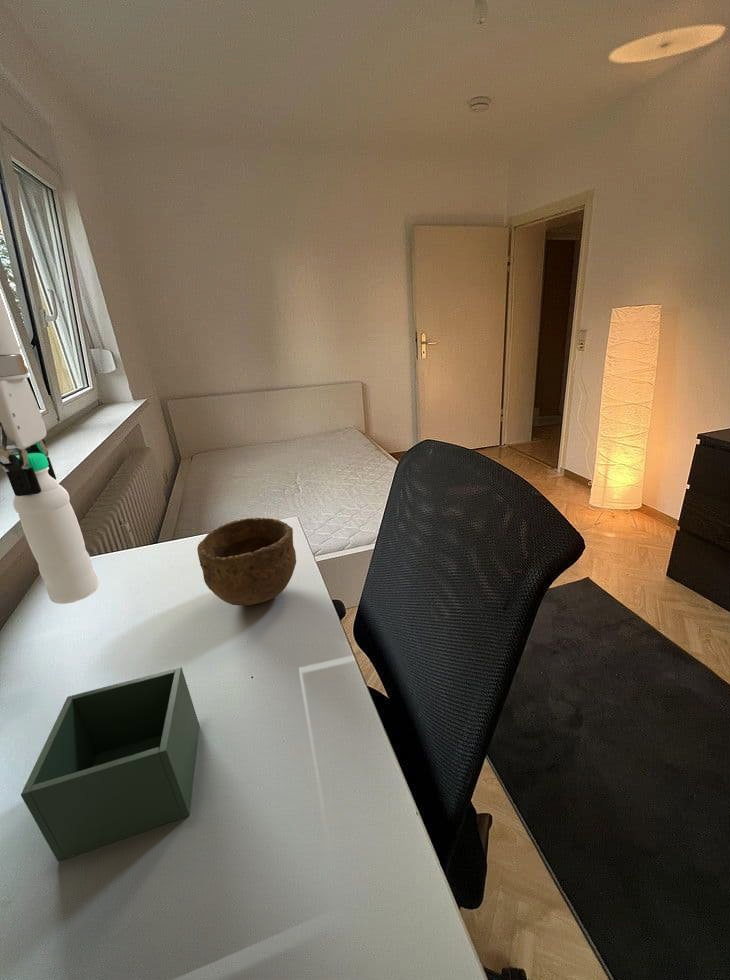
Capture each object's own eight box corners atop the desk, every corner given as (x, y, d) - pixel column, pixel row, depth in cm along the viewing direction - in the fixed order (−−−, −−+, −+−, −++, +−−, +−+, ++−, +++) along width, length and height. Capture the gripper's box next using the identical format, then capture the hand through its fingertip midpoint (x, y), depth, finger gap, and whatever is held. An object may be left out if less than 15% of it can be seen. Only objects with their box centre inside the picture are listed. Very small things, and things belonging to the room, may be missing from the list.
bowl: (304, 612, 89) (293, 547, 83) (205, 633, 85) (186, 565, 79) (300, 566, 106) (291, 510, 100) (217, 581, 102) (203, 523, 96)
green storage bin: (57, 862, 49) (20, 795, 45) (94, 756, 61) (67, 696, 57) (189, 815, 53) (166, 750, 49) (199, 725, 65) (181, 666, 61)
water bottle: (59, 588, 79) (7, 453, 70) (104, 579, 81) (60, 447, 72) (44, 610, 73) (-14, 465, 64) (94, 599, 75) (44, 458, 66)
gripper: (-8, 367, 70) (31, 475, 76) (-78, 377, 55) (-21, 511, 61) (47, 363, 72) (82, 469, 78) (-5, 372, 57) (43, 502, 63)
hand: (36, 486), depth 70 cm, fingers closed on water bottle, 5 cm apart
